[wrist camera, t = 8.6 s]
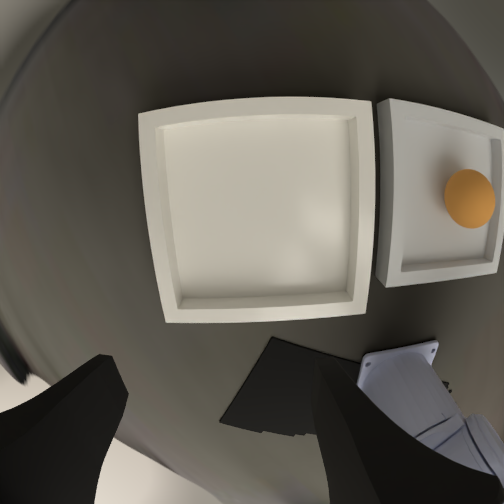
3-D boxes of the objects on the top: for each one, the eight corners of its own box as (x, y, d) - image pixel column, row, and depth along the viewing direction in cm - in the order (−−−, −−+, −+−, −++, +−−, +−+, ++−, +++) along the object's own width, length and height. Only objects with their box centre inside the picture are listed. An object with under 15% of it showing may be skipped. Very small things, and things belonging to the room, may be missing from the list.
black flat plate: (272, 337, 20) (474, 387, 23) (272, 334, 20) (472, 385, 24) (219, 422, 24) (417, 445, 27) (219, 418, 24) (416, 442, 27)
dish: (354, 296, 19) (365, 313, 16) (175, 304, 19) (165, 322, 17) (356, 108, 15) (371, 101, 12) (153, 119, 15) (138, 113, 13)
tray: (483, 264, 18) (496, 272, 16) (374, 275, 18) (385, 287, 16) (491, 130, 14) (506, 129, 12) (376, 103, 15) (389, 98, 13)
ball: (467, 221, 16) (502, 234, 12) (432, 221, 16) (468, 236, 12) (469, 170, 15) (506, 174, 11) (433, 164, 15) (472, 167, 11)
